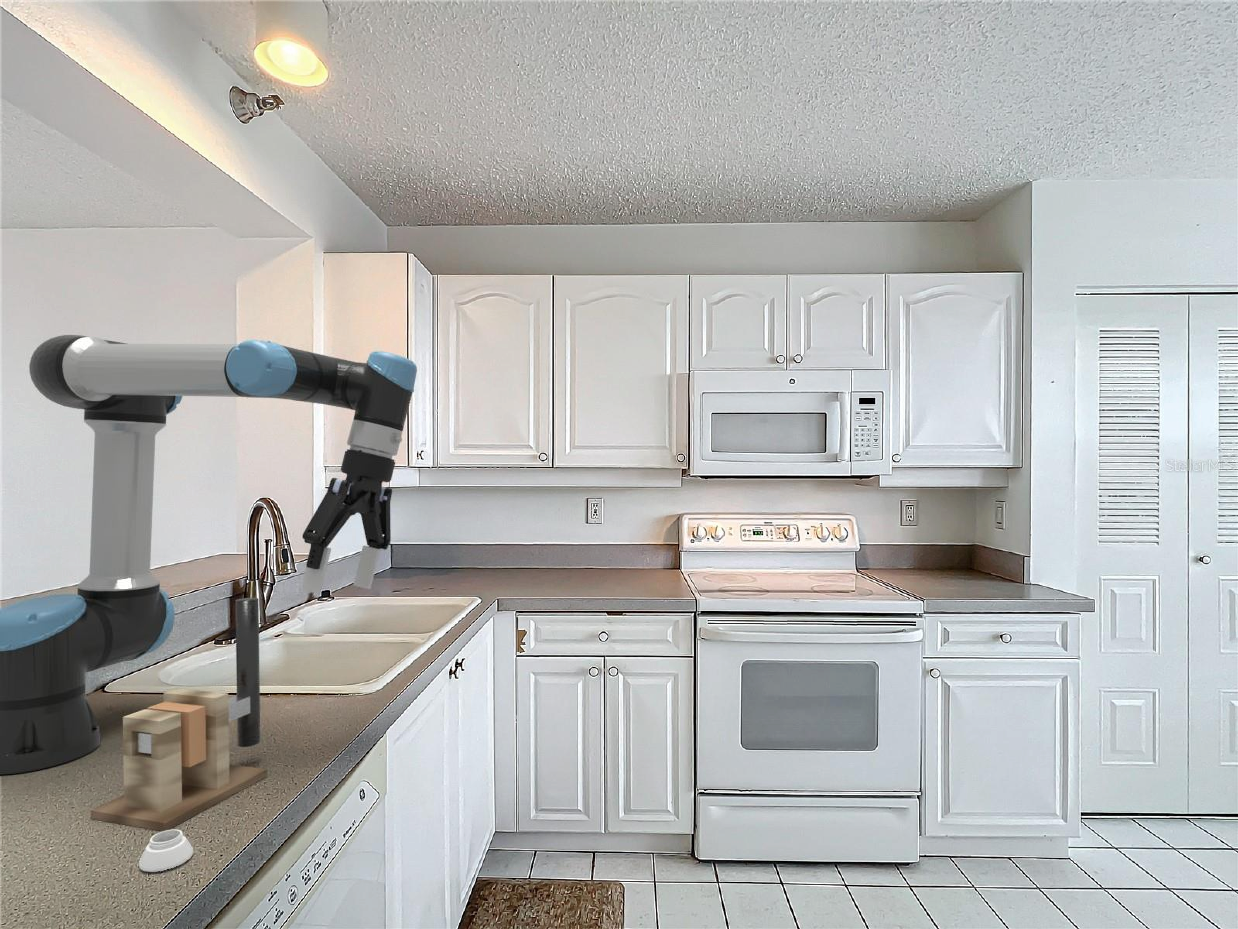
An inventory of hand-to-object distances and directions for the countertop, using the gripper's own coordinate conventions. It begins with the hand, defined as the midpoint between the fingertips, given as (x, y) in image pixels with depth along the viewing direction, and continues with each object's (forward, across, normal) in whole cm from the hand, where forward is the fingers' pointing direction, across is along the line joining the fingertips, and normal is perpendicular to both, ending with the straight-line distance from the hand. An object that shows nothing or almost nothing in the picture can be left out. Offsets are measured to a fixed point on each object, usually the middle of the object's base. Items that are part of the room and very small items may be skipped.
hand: (337, 589), depth 111 cm
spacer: (+24, -15, +7) cm, 29 cm away
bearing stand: (+28, -13, +6) cm, 32 cm away
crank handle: (+25, -11, +7) cm, 28 cm away
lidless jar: (+28, -28, -4) cm, 40 cm away
